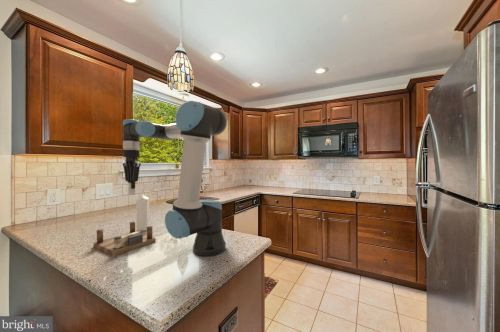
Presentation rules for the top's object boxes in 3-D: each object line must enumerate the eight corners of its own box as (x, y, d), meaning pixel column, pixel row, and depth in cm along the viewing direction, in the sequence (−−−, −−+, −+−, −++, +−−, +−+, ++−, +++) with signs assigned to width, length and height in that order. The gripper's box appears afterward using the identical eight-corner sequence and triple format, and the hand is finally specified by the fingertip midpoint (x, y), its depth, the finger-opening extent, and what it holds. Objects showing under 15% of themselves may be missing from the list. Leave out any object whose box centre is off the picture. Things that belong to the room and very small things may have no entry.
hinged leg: (116, 248, 94) (116, 238, 94) (112, 247, 96) (112, 237, 96) (141, 239, 106) (141, 230, 106) (137, 238, 107) (137, 229, 107)
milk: (136, 231, 127) (135, 194, 127) (139, 228, 133) (139, 193, 133) (147, 230, 128) (146, 194, 128) (149, 227, 134) (149, 193, 134)
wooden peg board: (155, 241, 109) (155, 226, 109) (114, 256, 92) (114, 237, 92) (134, 235, 120) (134, 221, 120) (93, 246, 103) (93, 230, 103)
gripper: (145, 149, 109) (146, 194, 109) (131, 150, 116) (132, 193, 116) (131, 148, 103) (131, 196, 103) (117, 149, 110) (117, 194, 110)
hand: (131, 194), depth 110 cm, fingers closed
